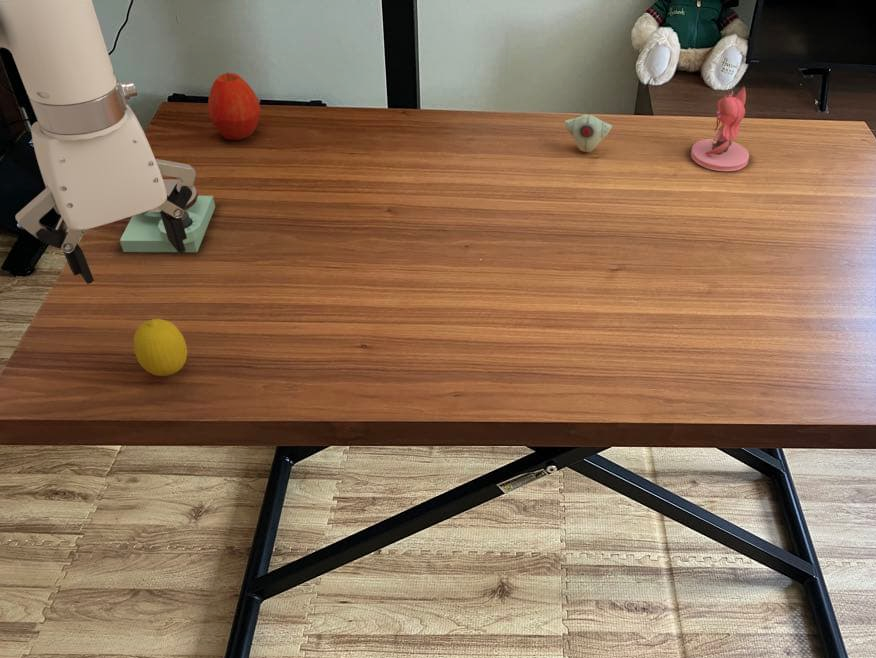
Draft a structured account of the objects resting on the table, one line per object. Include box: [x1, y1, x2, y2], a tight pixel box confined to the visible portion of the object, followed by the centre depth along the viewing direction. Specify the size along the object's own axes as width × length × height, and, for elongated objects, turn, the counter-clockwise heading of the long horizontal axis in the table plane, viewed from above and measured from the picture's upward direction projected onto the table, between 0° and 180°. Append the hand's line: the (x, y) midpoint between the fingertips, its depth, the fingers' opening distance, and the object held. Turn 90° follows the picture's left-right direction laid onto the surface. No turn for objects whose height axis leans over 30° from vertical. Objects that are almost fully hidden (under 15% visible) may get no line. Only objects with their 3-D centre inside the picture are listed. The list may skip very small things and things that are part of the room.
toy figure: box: [690, 86, 750, 172], centre depth 144 cm, size 10×10×12 cm
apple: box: [207, 72, 261, 142], centre depth 142 cm, size 8×8×11 cm
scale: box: [119, 195, 216, 253], centre depth 124 cm, size 13×11×4 cm
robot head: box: [564, 114, 613, 153], centre depth 145 cm, size 8×4×7 cm, turn 82°
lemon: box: [133, 318, 188, 377], centre depth 100 cm, size 6×6×8 cm
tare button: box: [181, 211, 191, 229], centre depth 120 cm, size 3×3×2 cm
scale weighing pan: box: [141, 178, 199, 217], centre depth 124 cm, size 9×9×1 cm
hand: (132, 261), depth 92 cm, fingers open, 9 cm apart
